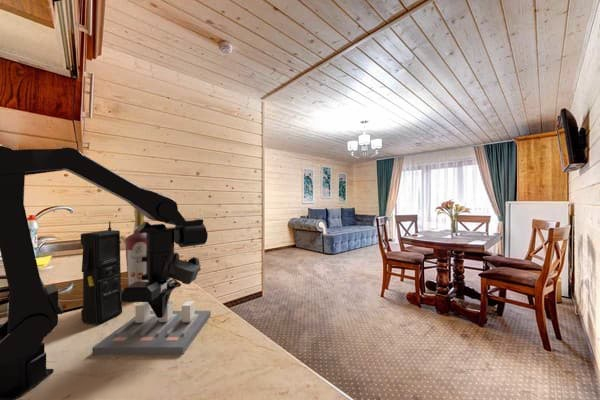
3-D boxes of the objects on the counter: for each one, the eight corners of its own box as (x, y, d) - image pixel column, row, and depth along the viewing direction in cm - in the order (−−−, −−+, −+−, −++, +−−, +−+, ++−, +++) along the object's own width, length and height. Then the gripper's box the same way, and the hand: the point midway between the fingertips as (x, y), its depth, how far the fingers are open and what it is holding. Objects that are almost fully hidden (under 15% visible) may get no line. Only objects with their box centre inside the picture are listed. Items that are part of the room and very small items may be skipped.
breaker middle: (159, 321, 59) (159, 305, 59) (164, 317, 61) (164, 301, 61) (167, 321, 59) (167, 305, 59) (172, 317, 61) (172, 301, 61)
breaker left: (135, 322, 59) (135, 305, 59) (141, 317, 61) (141, 301, 61) (143, 322, 59) (143, 305, 59) (149, 317, 61) (149, 301, 61)
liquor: (125, 303, 73) (125, 209, 73) (125, 296, 79) (124, 208, 79) (154, 298, 77) (154, 209, 77) (151, 290, 83) (151, 208, 83)
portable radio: (95, 327, 60) (94, 224, 59) (75, 325, 61) (75, 224, 61) (124, 312, 67) (124, 221, 67) (106, 310, 69) (106, 221, 68)
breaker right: (181, 322, 59) (181, 305, 59) (186, 317, 61) (186, 301, 61) (190, 322, 59) (190, 305, 59) (194, 317, 61) (194, 301, 61)
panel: (92, 355, 49) (92, 344, 49) (142, 316, 65) (142, 308, 65) (182, 354, 50) (182, 344, 50) (210, 316, 66) (210, 308, 65)
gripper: (175, 259, 48) (175, 339, 48) (209, 243, 67) (209, 300, 67) (118, 260, 48) (118, 340, 48) (168, 243, 67) (168, 301, 67)
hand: (160, 317), depth 57 cm, fingers closed
